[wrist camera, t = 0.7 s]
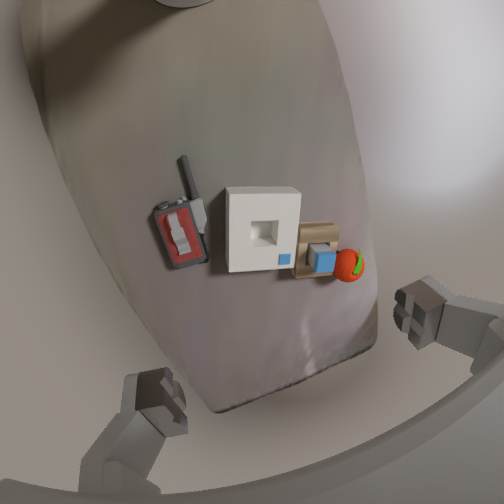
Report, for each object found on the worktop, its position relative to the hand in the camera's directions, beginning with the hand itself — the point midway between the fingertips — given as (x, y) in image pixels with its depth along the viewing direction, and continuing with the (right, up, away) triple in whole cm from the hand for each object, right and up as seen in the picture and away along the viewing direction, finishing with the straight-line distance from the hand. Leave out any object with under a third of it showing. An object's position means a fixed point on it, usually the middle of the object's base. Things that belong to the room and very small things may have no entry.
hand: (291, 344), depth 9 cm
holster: (+10, +4, +49) cm, 50 cm away
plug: (+11, +4, +48) cm, 49 cm away
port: (0, +8, +44) cm, 45 cm away
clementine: (+18, +2, +52) cm, 55 cm away
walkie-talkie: (-14, +10, +41) cm, 44 cm away
